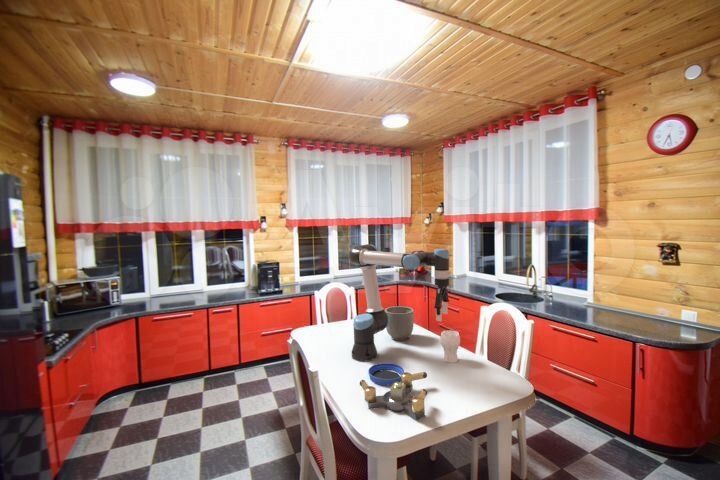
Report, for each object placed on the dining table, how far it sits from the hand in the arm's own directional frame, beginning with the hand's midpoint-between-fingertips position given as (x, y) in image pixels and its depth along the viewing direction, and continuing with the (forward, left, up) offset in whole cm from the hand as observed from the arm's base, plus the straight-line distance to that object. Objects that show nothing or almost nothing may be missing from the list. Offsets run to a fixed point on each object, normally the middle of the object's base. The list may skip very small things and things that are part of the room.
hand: (442, 317), depth 169 cm
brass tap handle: (-7, -29, -23) cm, 38 cm away
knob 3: (-24, -47, -23) cm, 58 cm away
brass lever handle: (0, -46, -23) cm, 51 cm away
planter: (-34, +30, -26) cm, 53 cm away
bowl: (-23, -24, -27) cm, 43 cm away
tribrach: (-10, -42, -26) cm, 50 cm away
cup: (+3, +8, -26) cm, 28 cm away
